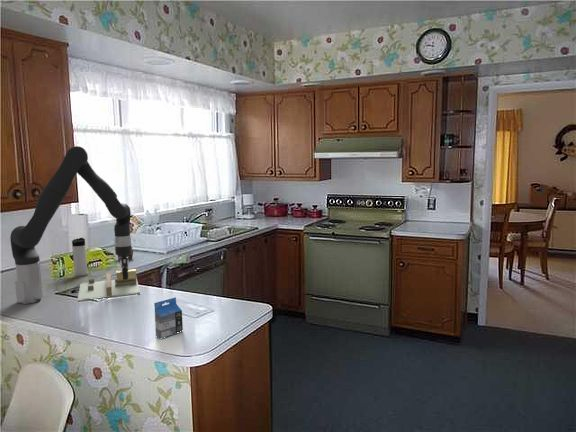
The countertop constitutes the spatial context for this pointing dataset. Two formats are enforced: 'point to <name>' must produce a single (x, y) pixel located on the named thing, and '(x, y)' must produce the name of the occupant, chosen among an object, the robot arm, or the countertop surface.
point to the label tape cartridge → (167, 318)
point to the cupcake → (127, 255)
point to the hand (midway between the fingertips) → (125, 276)
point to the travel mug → (79, 257)
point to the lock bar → (130, 276)
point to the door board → (103, 290)
